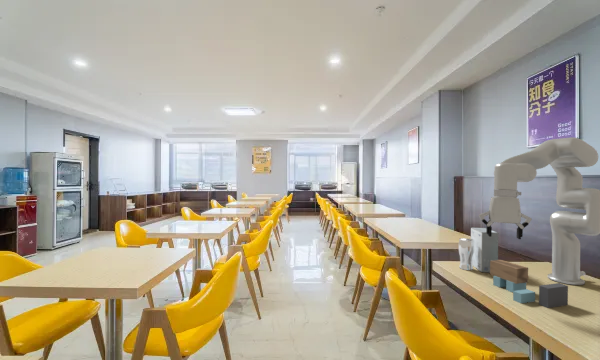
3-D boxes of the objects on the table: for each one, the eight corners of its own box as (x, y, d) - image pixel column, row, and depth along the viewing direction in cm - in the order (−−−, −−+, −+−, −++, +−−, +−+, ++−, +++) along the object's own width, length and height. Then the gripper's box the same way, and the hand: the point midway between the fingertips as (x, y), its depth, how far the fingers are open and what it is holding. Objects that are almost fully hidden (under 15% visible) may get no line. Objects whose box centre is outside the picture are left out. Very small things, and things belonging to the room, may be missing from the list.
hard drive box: (498, 273, 144) (499, 232, 143) (481, 272, 145) (481, 232, 145) (485, 264, 159) (485, 227, 159) (469, 263, 160) (470, 227, 160)
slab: (500, 273, 132) (500, 259, 132) (527, 282, 120) (528, 267, 120) (490, 274, 130) (490, 260, 130) (516, 283, 119) (516, 268, 119)
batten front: (519, 288, 124) (519, 279, 124) (526, 291, 121) (526, 281, 121) (506, 290, 122) (506, 280, 122) (513, 292, 120) (513, 282, 119)
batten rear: (505, 283, 130) (505, 274, 130) (512, 285, 127) (512, 276, 127) (493, 284, 128) (493, 275, 128) (499, 287, 125) (499, 278, 125)
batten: (526, 298, 114) (527, 289, 114) (534, 301, 111) (535, 292, 111) (513, 300, 112) (513, 290, 112) (520, 303, 109) (521, 294, 109)
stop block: (558, 301, 111) (558, 283, 111) (567, 304, 108) (568, 285, 108) (539, 304, 108) (539, 285, 108) (547, 307, 106) (548, 288, 106)
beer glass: (455, 267, 153) (455, 238, 153) (464, 265, 156) (464, 237, 156) (467, 271, 147) (467, 241, 147) (477, 269, 150) (477, 240, 149)
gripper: (529, 195, 117) (527, 238, 117) (478, 193, 124) (477, 233, 124) (535, 195, 110) (533, 241, 110) (481, 193, 117) (480, 236, 117)
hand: (503, 237), depth 117 cm, fingers open, 9 cm apart
